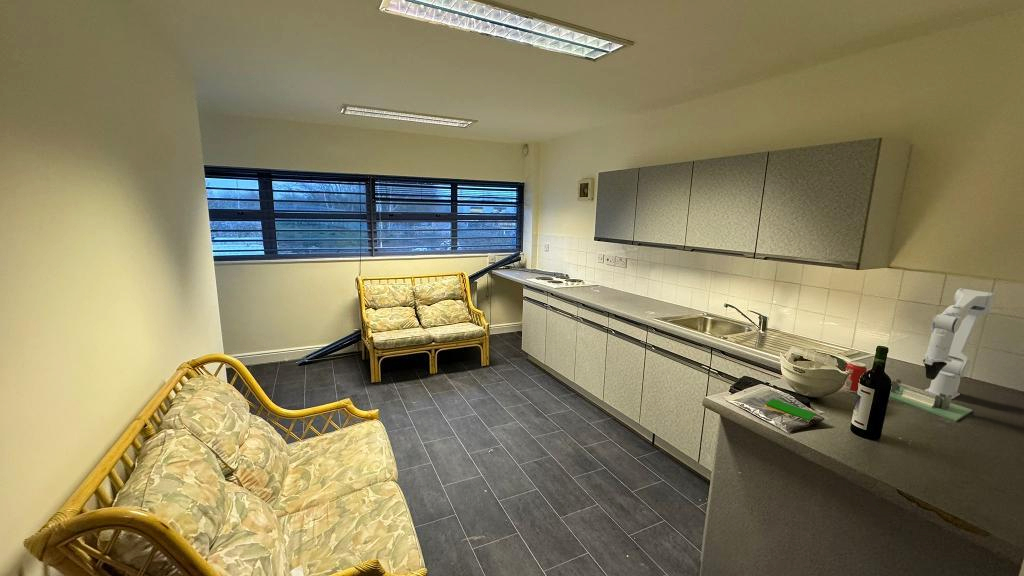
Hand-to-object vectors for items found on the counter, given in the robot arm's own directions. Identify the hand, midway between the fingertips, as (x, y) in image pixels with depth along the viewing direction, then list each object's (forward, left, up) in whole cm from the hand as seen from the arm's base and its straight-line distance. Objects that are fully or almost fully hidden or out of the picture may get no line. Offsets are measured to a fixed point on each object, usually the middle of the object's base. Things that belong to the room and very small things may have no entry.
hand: (930, 378), depth 154 cm
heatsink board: (0, -1, -10) cm, 10 cm away
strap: (0, -2, -7) cm, 7 cm away
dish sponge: (+58, -19, -11) cm, 62 cm away
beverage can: (+14, -18, -11) cm, 25 cm away
